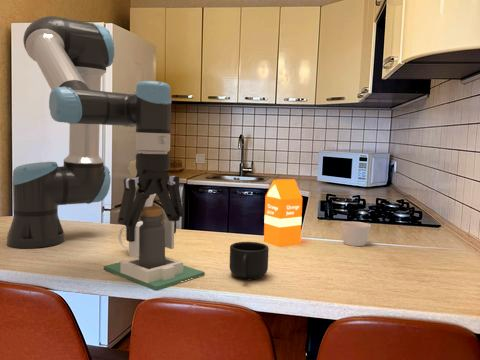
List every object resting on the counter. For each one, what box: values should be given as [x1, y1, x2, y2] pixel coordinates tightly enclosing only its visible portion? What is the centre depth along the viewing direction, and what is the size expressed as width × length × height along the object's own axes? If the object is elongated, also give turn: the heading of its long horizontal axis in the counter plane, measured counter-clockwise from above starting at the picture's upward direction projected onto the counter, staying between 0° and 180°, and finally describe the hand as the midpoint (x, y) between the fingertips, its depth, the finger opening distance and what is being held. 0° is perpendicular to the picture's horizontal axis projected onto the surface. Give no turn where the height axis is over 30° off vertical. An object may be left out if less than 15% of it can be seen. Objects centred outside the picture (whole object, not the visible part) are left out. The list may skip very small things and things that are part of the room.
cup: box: [118, 221, 143, 252], centre depth 115 cm, size 7×10×8 cm
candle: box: [341, 221, 372, 247], centre depth 133 cm, size 9×9×6 cm
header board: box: [103, 256, 205, 291], centre depth 99 cm, size 20×14×3 cm
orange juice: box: [263, 178, 303, 248], centre depth 131 cm, size 8×9×20 cm
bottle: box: [138, 205, 166, 269], centre depth 95 cm, size 6×6×15 cm
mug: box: [229, 241, 270, 280], centre depth 97 cm, size 12×9×7 cm
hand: (152, 251), depth 95 cm, fingers open, 9 cm apart
